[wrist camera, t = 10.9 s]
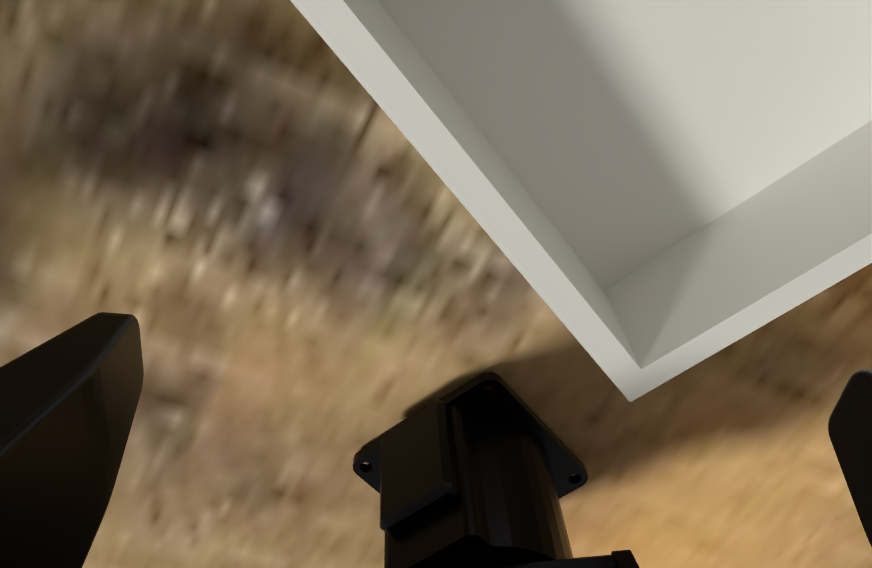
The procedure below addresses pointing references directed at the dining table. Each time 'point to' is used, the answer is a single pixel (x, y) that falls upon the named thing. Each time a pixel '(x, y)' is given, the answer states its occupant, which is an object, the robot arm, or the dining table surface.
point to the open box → (638, 152)
